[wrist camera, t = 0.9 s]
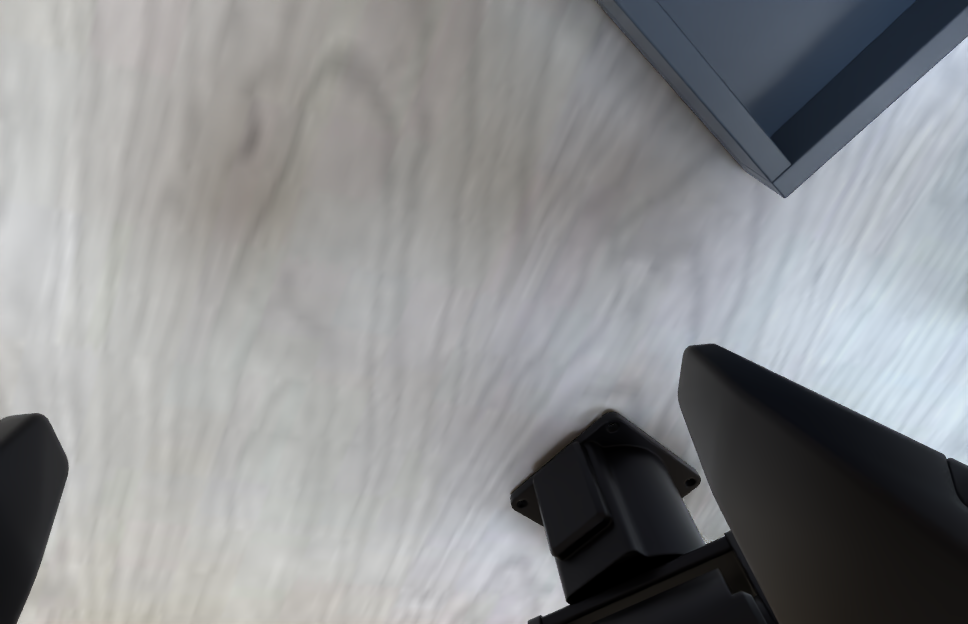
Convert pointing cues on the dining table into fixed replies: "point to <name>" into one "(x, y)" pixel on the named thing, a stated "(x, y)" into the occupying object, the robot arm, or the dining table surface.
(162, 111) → the dining table surface
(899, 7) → the tray
